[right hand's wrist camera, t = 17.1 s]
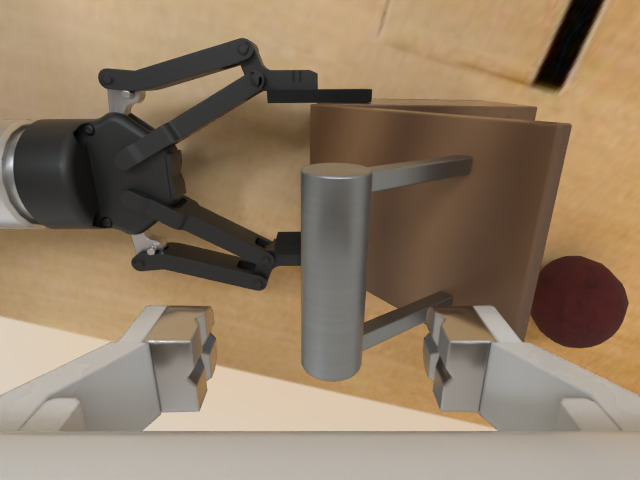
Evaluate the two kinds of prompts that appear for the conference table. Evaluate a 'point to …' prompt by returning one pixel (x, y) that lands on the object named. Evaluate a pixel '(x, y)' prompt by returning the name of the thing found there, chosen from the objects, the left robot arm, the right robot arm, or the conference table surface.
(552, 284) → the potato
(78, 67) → the conference table surface
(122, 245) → the conference table surface
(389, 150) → the lid
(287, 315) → the conference table surface
